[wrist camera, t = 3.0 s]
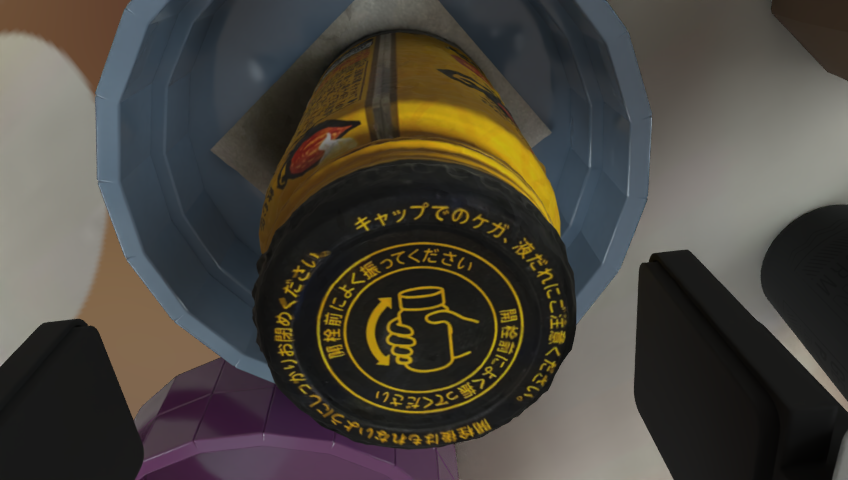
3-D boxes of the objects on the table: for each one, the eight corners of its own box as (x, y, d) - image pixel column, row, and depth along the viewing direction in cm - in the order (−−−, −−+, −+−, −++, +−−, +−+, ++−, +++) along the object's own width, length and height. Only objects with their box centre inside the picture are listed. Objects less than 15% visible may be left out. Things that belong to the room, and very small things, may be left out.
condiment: (550, 130, 21) (717, 343, 10) (369, 284, 23) (347, 592, 12) (398, -47, 18) (402, -17, 7) (212, 146, 20) (10, 382, 10)
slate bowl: (98, -78, 18) (-1, -82, 13) (599, -140, 18) (669, -164, 13) (224, 335, 24) (185, 426, 20) (593, 293, 24) (638, 375, 20)
